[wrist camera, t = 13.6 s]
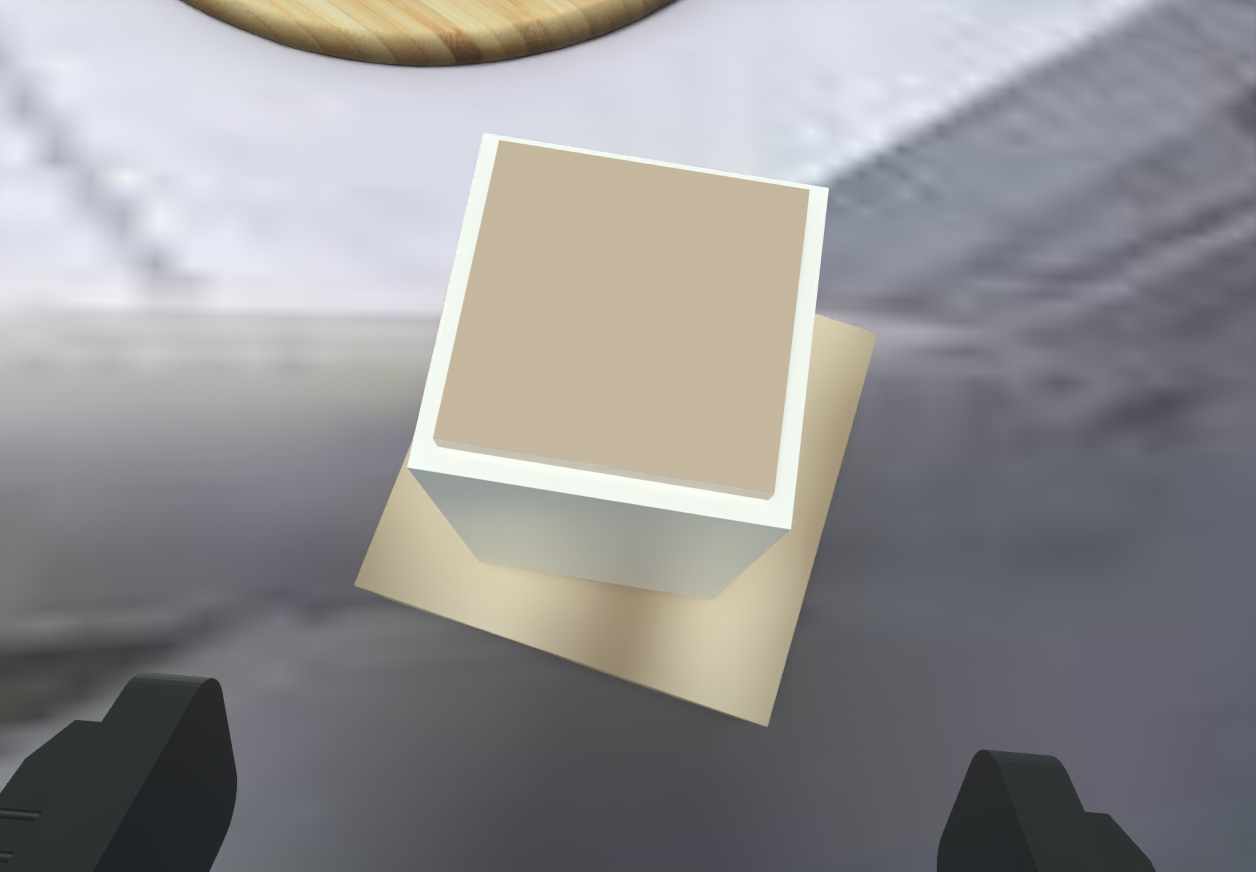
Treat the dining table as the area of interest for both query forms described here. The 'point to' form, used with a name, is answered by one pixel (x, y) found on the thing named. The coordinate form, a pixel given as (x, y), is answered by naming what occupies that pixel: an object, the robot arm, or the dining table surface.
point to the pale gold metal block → (633, 617)
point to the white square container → (622, 366)
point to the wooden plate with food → (428, 26)
